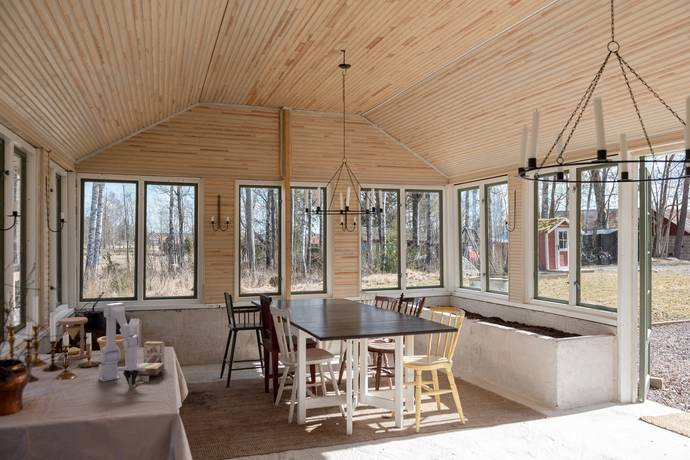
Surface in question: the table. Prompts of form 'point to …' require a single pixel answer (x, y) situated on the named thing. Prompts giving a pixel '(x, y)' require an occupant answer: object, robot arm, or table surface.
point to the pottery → (118, 343)
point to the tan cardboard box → (151, 369)
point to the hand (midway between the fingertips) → (131, 384)
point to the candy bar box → (154, 352)
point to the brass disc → (140, 382)
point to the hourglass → (73, 330)
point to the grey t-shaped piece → (145, 378)
